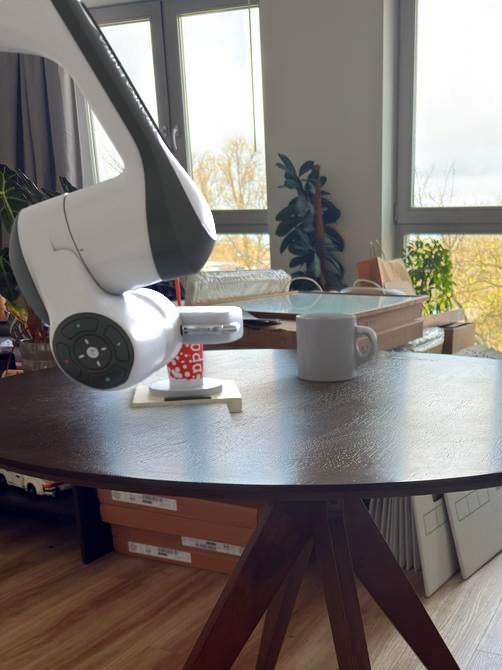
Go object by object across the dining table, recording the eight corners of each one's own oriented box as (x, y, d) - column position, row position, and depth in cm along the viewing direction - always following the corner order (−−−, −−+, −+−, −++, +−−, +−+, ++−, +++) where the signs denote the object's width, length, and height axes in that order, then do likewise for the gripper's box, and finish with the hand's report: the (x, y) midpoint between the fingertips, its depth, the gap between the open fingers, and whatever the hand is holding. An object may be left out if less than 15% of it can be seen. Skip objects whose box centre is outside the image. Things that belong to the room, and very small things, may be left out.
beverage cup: (177, 389, 97) (166, 280, 92) (156, 383, 101) (144, 278, 96) (217, 383, 100) (209, 278, 96) (195, 378, 105) (185, 276, 100)
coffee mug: (290, 380, 119) (287, 318, 116) (309, 370, 128) (307, 312, 125) (368, 383, 117) (367, 320, 113) (382, 373, 126) (382, 314, 122)
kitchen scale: (134, 418, 94) (131, 395, 93) (137, 398, 106) (135, 378, 105) (242, 411, 98) (241, 389, 97) (234, 393, 109) (233, 373, 108)
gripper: (233, 300, 78) (249, 291, 91) (41, 301, 77) (84, 292, 90) (238, 359, 80) (252, 342, 93) (50, 361, 79) (92, 343, 92)
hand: (168, 318), depth 92 cm, fingers open, 8 cm apart
